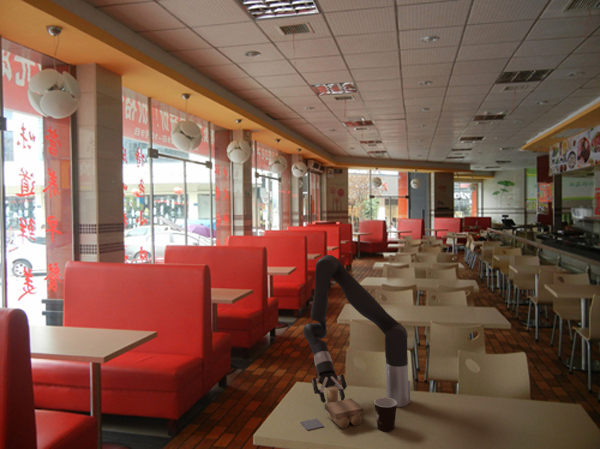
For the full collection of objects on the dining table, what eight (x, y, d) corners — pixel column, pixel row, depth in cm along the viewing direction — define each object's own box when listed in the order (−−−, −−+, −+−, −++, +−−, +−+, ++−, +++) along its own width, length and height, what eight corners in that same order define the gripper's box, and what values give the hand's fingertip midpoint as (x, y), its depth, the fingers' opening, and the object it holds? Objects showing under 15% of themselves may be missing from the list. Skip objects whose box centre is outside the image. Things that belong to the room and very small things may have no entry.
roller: (335, 408, 196) (334, 385, 196) (340, 412, 192) (339, 389, 192) (325, 410, 195) (325, 387, 194) (330, 414, 191) (329, 390, 190)
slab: (351, 413, 191) (351, 398, 191) (363, 424, 182) (363, 408, 182) (324, 419, 187) (324, 403, 186) (336, 430, 177) (335, 414, 177)
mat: (316, 419, 187) (316, 418, 187) (324, 426, 180) (323, 425, 180) (300, 422, 184) (300, 421, 184) (307, 430, 178) (307, 429, 178)
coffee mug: (397, 434, 173) (397, 407, 173) (374, 432, 175) (373, 406, 175) (397, 420, 185) (396, 395, 184) (375, 418, 186) (374, 393, 186)
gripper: (310, 362, 198) (319, 399, 187) (341, 358, 202) (352, 394, 191) (306, 370, 203) (315, 407, 193) (337, 366, 207) (347, 402, 197)
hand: (333, 400), depth 192 cm, fingers open, 7 cm apart
